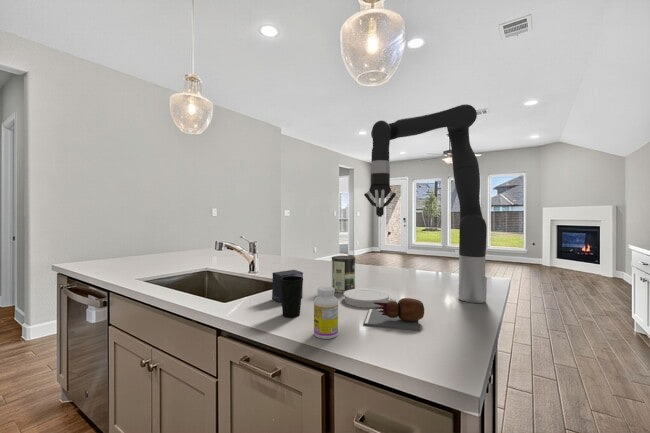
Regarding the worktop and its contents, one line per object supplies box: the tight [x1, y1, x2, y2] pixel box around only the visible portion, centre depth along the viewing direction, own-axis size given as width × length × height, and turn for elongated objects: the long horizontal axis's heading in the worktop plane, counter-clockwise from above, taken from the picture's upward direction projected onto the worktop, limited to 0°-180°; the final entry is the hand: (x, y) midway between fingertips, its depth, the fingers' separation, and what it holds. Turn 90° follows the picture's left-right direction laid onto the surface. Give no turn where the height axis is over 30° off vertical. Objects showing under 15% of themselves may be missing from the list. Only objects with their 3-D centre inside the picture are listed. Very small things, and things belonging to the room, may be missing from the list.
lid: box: [343, 287, 397, 309], centre depth 118 cm, size 17×20×3 cm
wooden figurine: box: [374, 297, 425, 321], centre depth 95 cm, size 7×6×15 cm
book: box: [362, 308, 420, 332], centre depth 97 cm, size 16×14×1 cm
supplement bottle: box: [313, 286, 339, 340], centre depth 85 cm, size 7×7×13 cm
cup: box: [280, 276, 304, 319], centre depth 101 cm, size 8×8×12 cm
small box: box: [271, 269, 304, 304], centre depth 120 cm, size 11×6×10 cm, turn 131°
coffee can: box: [331, 255, 356, 294], centre depth 134 cm, size 10×10×14 cm
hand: (379, 216), depth 123 cm, fingers closed
